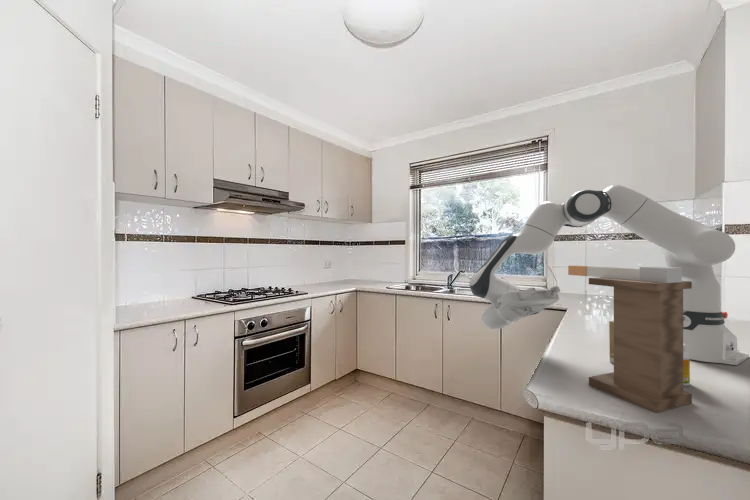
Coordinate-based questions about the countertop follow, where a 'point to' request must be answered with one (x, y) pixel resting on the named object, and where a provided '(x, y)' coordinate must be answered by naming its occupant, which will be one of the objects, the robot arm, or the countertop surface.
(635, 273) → the grey tan flat bar
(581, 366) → the countertop surface
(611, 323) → the skincare box
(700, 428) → the countertop surface
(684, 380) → the supplement bottle
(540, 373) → the countertop surface
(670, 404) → the stand
